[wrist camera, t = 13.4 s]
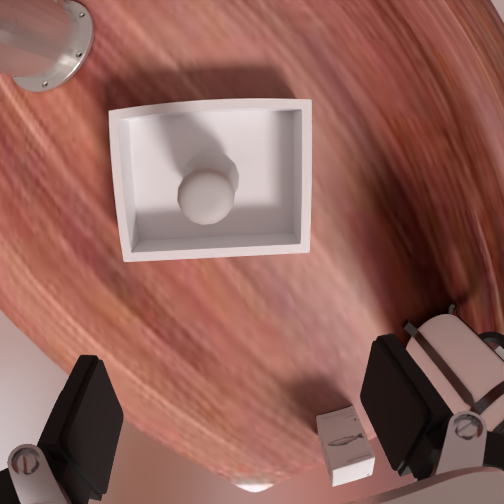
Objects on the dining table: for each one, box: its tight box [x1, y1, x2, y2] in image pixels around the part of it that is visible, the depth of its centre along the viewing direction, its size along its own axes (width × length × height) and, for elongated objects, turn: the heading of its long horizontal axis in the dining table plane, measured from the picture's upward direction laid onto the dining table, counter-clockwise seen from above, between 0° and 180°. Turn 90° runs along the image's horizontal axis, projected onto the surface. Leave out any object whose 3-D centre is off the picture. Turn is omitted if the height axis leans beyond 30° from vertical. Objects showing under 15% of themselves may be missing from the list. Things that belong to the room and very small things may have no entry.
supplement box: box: [316, 406, 375, 486], centre depth 47 cm, size 7×7×13 cm
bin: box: [109, 98, 312, 262], centre depth 33 cm, size 16×20×5 cm
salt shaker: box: [177, 151, 239, 225], centre depth 28 cm, size 6×6×13 cm
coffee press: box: [402, 303, 504, 435], centre depth 33 cm, size 17×16×30 cm
